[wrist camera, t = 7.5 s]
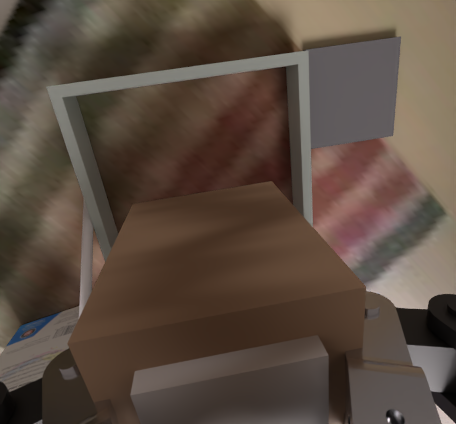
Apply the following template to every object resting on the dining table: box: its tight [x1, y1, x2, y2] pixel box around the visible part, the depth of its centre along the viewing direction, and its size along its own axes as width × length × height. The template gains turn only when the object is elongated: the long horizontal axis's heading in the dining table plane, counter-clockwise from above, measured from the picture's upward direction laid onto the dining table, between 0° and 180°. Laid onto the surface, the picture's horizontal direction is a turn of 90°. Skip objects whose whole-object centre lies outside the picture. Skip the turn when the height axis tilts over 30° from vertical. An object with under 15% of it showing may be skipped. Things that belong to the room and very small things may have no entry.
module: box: [67, 181, 366, 424], centre depth 10 cm, size 6×6×8 cm
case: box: [46, 51, 313, 317], centre depth 21 cm, size 19×16×14 cm
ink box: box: [0, 306, 79, 392], centre depth 26 cm, size 8×5×15 cm, turn 107°
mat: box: [303, 37, 401, 149], centre depth 27 cm, size 8×8×1 cm
